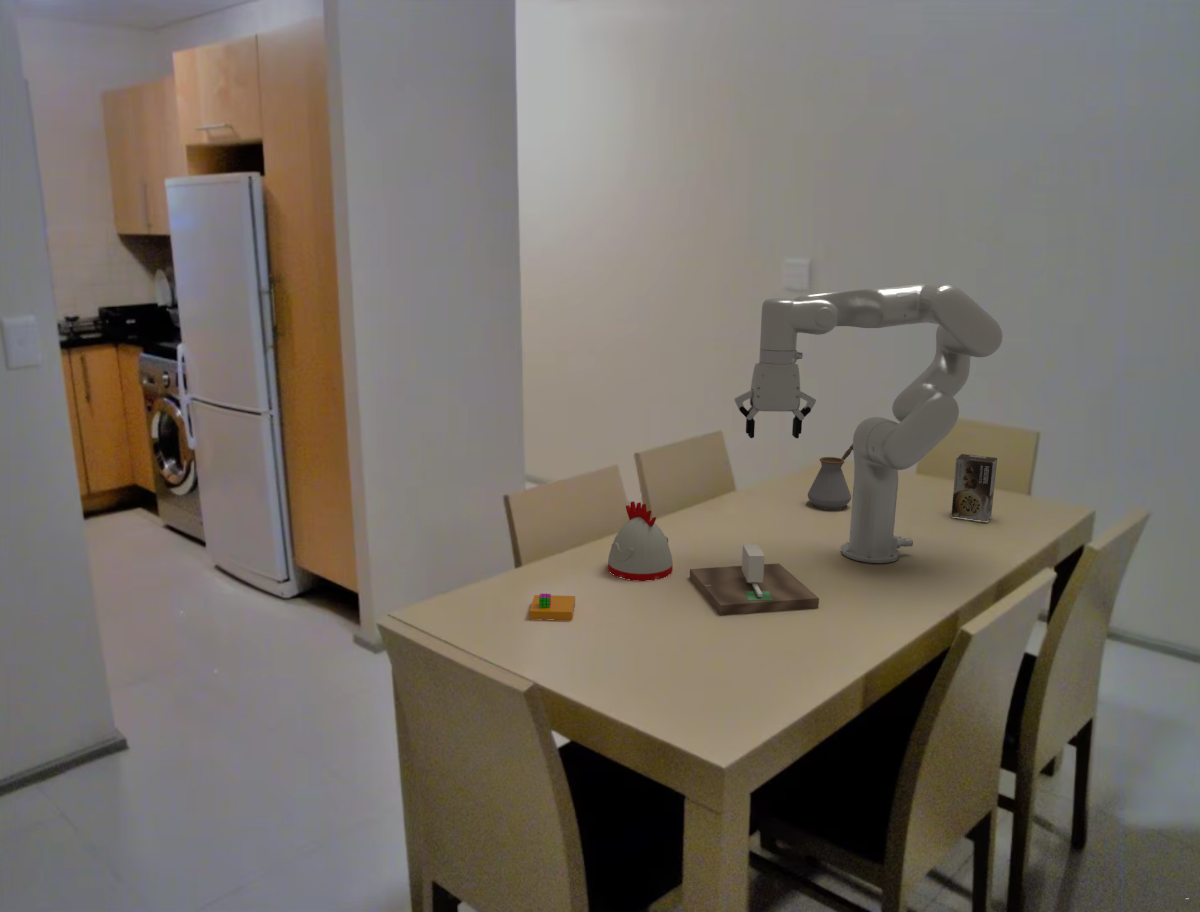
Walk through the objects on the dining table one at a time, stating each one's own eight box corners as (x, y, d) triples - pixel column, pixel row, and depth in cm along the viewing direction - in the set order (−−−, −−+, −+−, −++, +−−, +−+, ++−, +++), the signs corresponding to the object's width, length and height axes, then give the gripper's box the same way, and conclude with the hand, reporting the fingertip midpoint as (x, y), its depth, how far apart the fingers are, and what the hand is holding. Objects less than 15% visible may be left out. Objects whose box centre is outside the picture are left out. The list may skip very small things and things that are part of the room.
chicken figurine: (638, 554, 208) (640, 490, 204) (685, 570, 198) (687, 503, 195) (594, 569, 198) (595, 502, 195) (641, 586, 188) (642, 516, 185)
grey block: (741, 575, 188) (742, 544, 187) (755, 575, 188) (757, 544, 187) (752, 597, 177) (754, 564, 175) (767, 597, 177) (769, 564, 175)
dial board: (778, 572, 197) (779, 562, 197) (818, 607, 178) (819, 597, 177) (689, 578, 193) (689, 568, 193) (720, 615, 174) (720, 604, 174)
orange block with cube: (534, 605, 179) (534, 585, 178) (575, 606, 179) (575, 586, 178) (529, 622, 171) (529, 600, 170) (572, 623, 171) (572, 601, 170)
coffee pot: (839, 514, 239) (843, 458, 236) (799, 506, 246) (802, 452, 243) (871, 497, 256) (876, 445, 252) (833, 490, 263) (836, 439, 259)
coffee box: (991, 518, 238) (998, 457, 234) (987, 524, 233) (994, 462, 229) (955, 512, 243) (961, 453, 239) (949, 518, 237) (955, 457, 234)
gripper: (813, 355, 197) (808, 433, 201) (733, 355, 197) (730, 433, 201) (822, 360, 190) (817, 440, 194) (739, 359, 189) (736, 440, 193)
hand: (773, 437), depth 197 cm, fingers open, 9 cm apart
